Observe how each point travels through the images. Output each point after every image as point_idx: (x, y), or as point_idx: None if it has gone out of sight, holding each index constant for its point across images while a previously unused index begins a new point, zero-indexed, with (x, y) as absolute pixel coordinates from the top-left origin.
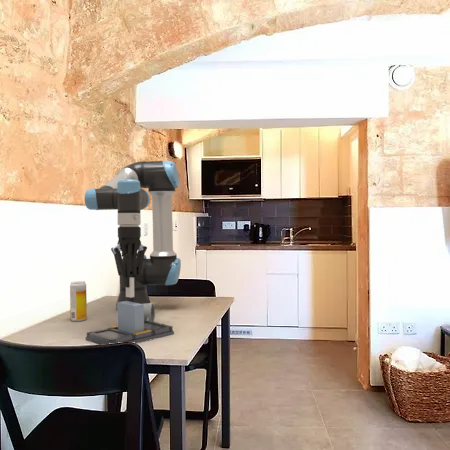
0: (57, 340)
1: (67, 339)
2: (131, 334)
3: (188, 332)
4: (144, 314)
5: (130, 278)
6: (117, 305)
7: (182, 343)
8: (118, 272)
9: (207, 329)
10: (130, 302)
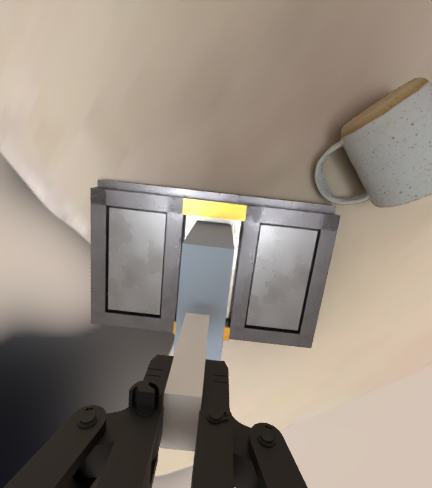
0: (37, 104)
1: (66, 121)
2: (166, 321)
3: (340, 359)
4: (370, 185)
5: (162, 443)
6: (184, 240)
7: (240, 412)
8: (55, 441)
9: (397, 378)
10: (217, 298)
